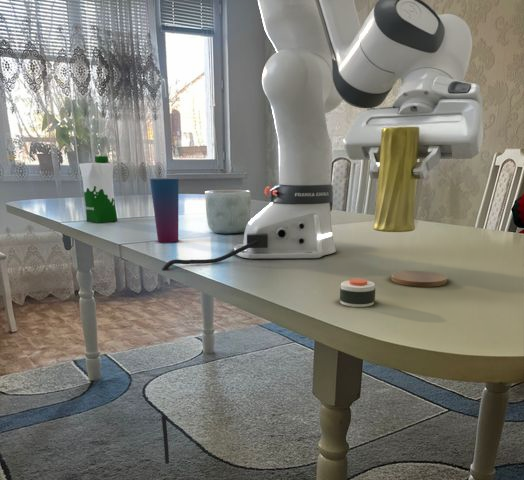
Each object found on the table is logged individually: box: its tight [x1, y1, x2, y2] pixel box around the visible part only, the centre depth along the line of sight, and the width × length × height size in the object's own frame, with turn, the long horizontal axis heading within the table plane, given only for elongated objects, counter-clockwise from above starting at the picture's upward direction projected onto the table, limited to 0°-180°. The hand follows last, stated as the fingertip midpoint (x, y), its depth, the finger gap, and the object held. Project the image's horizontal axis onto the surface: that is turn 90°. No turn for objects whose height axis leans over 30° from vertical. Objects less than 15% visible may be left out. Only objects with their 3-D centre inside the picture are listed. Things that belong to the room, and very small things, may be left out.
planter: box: [204, 189, 252, 235], centre depth 148 cm, size 12×12×11 cm
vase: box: [372, 127, 419, 233], centre depth 79 cm, size 6×6×14 cm
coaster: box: [391, 270, 448, 288], centre depth 92 cm, size 9×9×1 cm
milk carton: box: [78, 155, 118, 224], centre depth 174 cm, size 9×9×20 cm
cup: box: [149, 177, 179, 244], centre depth 133 cm, size 7×7×15 cm
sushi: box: [339, 278, 376, 308], centre depth 78 cm, size 5×5×3 cm
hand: (396, 175), depth 78 cm, fingers closed on vase, 5 cm apart
